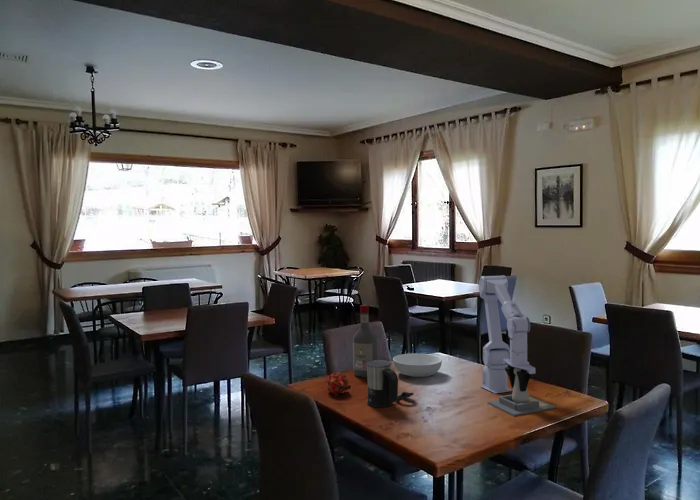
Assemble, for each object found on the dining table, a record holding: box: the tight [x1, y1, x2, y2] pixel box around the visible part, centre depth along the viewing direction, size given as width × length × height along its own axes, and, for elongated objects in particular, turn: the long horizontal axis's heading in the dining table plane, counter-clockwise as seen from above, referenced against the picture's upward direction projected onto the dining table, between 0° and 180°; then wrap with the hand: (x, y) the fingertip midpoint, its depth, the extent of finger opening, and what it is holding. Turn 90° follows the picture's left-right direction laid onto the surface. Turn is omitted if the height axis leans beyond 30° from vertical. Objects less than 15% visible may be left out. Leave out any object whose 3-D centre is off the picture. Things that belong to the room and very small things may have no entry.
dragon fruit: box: [326, 371, 352, 396], centre depth 202 cm, size 8×8×12 cm
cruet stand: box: [487, 394, 557, 417], centre depth 184 cm, size 14×18×3 cm
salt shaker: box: [512, 368, 530, 404], centre depth 184 cm, size 6×6×13 cm
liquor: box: [352, 304, 378, 378], centre depth 226 cm, size 9×9×30 cm
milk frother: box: [366, 359, 415, 408], centre depth 190 cm, size 14×16×15 cm
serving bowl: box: [392, 352, 443, 378], centre depth 225 cm, size 21×21×7 cm
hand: (518, 389), depth 184 cm, fingers closed on salt shaker, 4 cm apart
